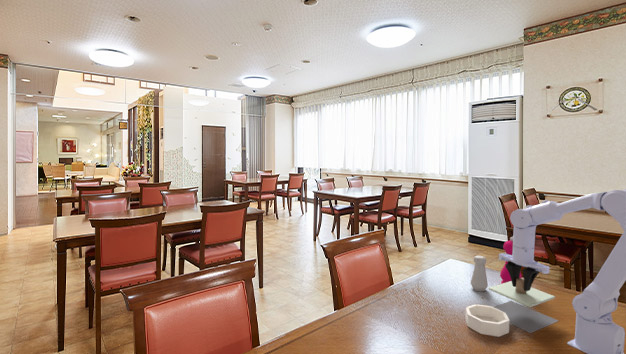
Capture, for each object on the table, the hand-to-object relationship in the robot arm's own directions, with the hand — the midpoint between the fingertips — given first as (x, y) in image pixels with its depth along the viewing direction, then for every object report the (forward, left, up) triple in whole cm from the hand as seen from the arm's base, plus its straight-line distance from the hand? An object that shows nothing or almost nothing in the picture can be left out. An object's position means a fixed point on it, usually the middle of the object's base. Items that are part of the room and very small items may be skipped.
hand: (521, 288), depth 103 cm
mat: (0, 0, -9) cm, 9 cm away
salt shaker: (+19, -6, -10) cm, 22 cm away
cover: (0, 0, -2) cm, 2 cm away
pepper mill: (+15, -19, -10) cm, 26 cm away
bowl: (+1, +15, -9) cm, 18 cm away
